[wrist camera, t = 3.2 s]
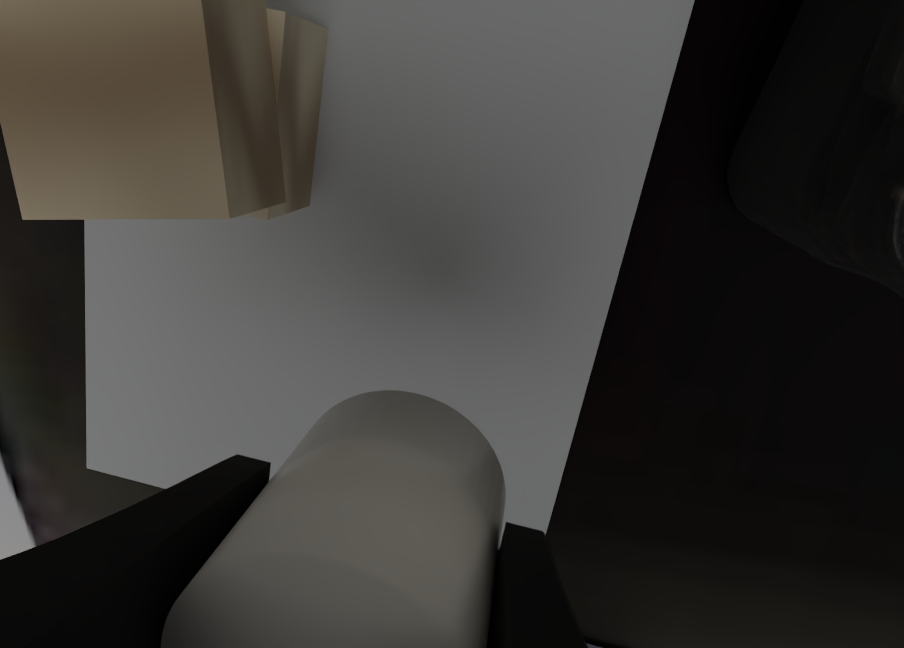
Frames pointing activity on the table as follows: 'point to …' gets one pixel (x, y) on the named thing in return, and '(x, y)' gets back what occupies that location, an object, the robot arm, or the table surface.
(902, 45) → the camera
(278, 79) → the slab bottom
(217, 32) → the slab top
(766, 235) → the table surface
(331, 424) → the cylinder
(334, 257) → the mat
